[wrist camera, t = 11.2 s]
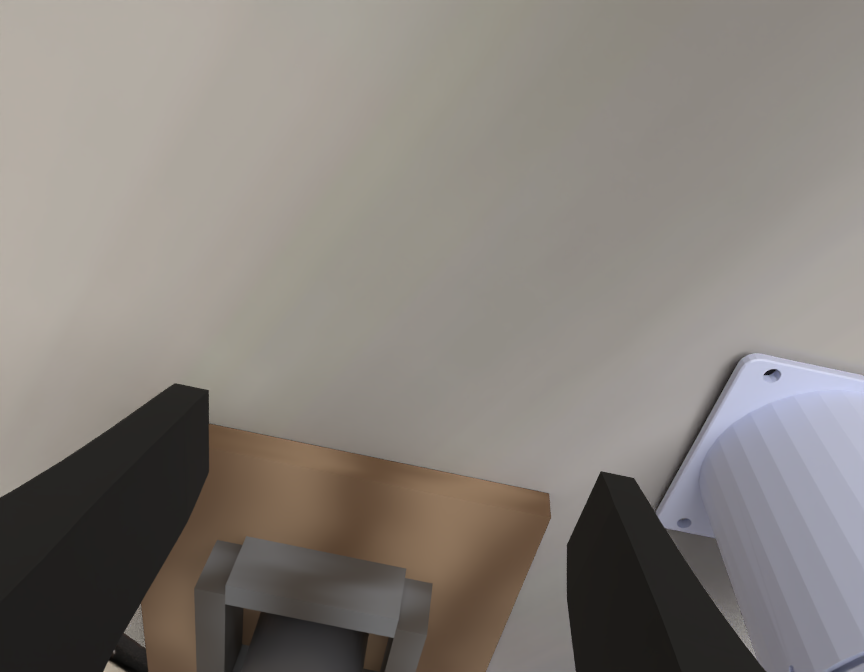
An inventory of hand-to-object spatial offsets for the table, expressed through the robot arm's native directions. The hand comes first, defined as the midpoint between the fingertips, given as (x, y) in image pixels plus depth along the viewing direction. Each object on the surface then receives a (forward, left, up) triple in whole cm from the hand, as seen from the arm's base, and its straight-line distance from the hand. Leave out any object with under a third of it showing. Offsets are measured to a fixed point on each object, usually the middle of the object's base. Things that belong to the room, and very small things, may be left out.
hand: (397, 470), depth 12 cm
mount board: (+2, +18, -9) cm, 20 cm away
